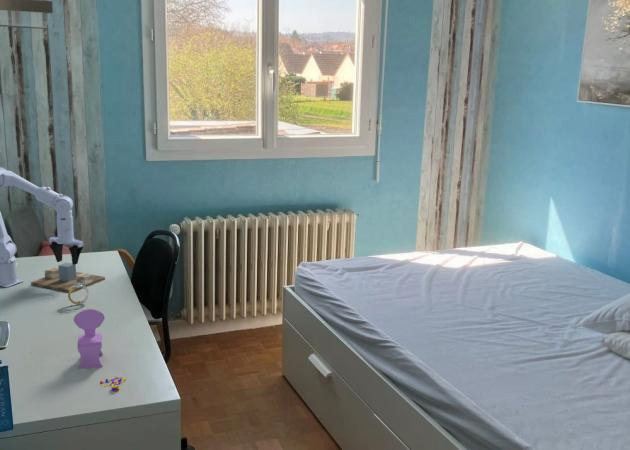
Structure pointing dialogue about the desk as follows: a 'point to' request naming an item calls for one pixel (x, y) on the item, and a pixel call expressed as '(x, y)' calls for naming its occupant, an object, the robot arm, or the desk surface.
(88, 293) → the ring
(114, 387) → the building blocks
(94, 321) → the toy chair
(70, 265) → the slate block
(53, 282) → the wooden board
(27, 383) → the desk surface
